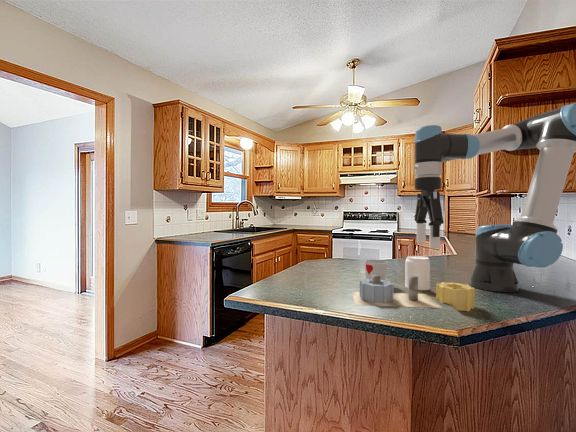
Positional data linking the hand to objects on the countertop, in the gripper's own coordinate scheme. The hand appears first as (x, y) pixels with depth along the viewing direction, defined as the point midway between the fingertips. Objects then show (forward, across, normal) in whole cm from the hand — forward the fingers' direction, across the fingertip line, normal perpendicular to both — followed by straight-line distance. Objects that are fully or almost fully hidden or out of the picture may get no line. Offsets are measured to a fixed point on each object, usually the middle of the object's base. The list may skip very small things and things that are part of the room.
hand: (427, 245), depth 96 cm
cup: (+18, -14, -14) cm, 27 cm away
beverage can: (+18, -13, 0) cm, 22 cm away
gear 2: (+18, +3, +7) cm, 19 cm away
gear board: (+18, +4, -11) cm, 21 cm away
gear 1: (+16, +4, -16) cm, 23 cm away
